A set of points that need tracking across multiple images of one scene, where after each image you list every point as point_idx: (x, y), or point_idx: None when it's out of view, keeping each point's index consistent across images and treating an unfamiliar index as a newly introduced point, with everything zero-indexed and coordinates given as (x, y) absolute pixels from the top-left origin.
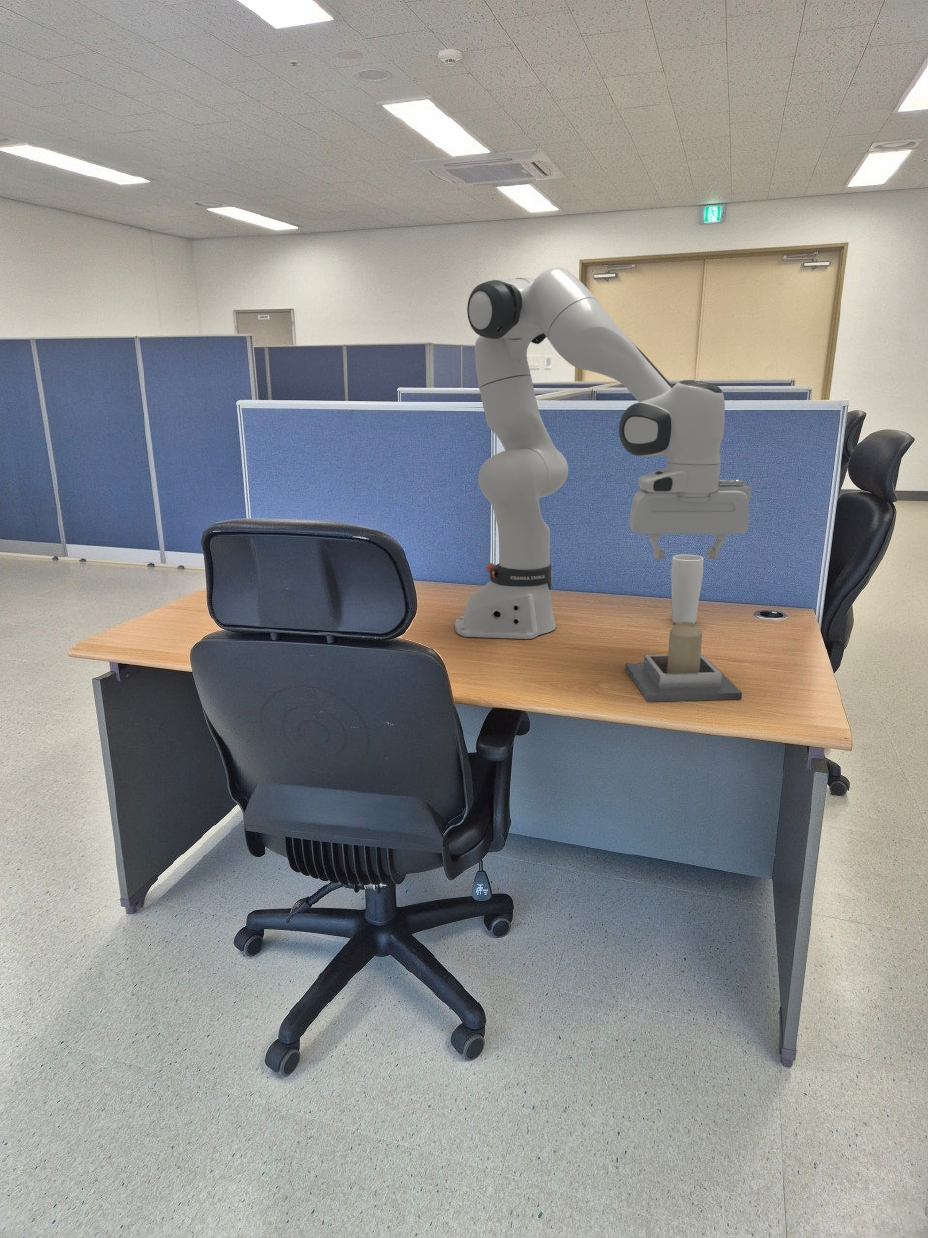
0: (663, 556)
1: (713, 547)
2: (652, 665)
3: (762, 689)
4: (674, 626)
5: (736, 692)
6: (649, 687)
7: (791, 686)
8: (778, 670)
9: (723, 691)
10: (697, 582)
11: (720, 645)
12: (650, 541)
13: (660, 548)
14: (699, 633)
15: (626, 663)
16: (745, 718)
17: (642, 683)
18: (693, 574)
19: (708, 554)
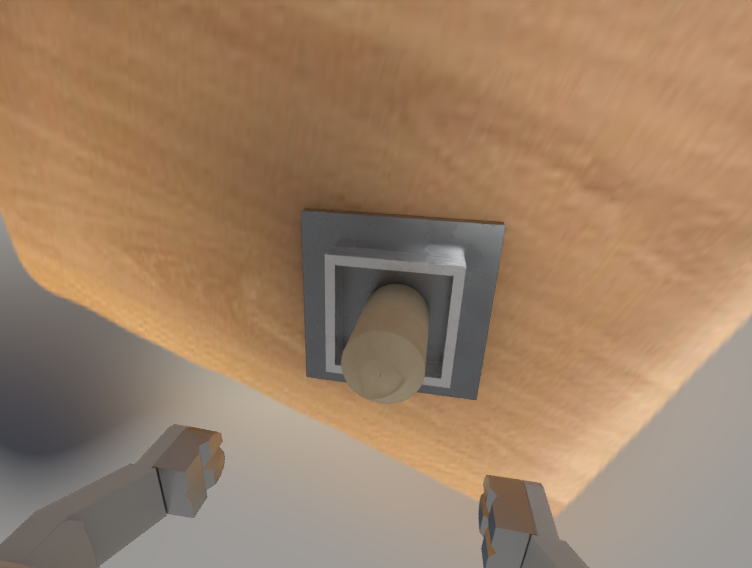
0: (210, 481)
1: (530, 558)
2: (325, 319)
3: (544, 359)
4: (350, 364)
5: (466, 396)
6: (317, 346)
7: (616, 357)
8: (662, 267)
9: (445, 388)
10: None
11: (644, 30)
12: (71, 502)
13: (171, 484)
14: (407, 397)
15: (302, 211)
16: (441, 451)
17: (309, 327)
18: None
19: (487, 509)
